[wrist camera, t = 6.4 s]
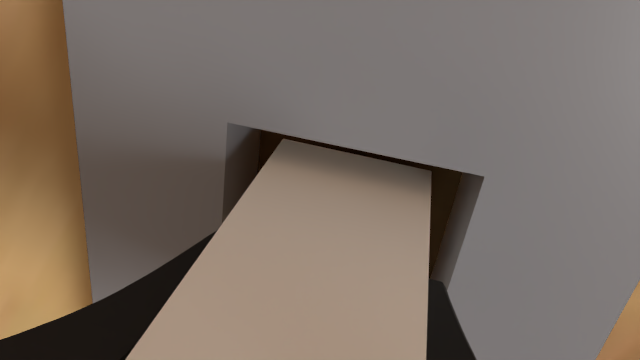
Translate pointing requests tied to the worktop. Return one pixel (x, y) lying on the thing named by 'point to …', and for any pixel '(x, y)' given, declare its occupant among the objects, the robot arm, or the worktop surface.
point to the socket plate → (380, 138)
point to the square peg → (308, 267)
